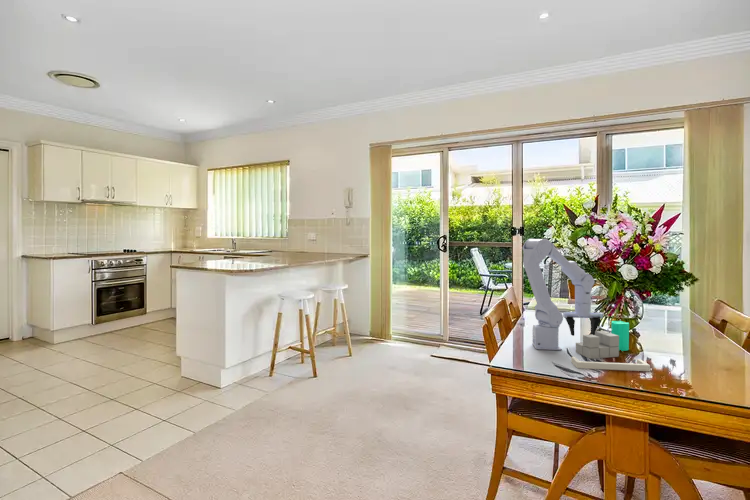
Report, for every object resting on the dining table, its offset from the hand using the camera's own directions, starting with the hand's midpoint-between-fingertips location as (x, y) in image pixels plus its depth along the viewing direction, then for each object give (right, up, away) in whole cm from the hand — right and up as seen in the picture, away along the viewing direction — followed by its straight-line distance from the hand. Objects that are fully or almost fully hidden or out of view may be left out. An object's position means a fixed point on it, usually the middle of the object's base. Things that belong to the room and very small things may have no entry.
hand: (582, 335), depth 162 cm
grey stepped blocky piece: (-2, -5, -11) cm, 12 cm away
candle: (+12, -4, -6) cm, 14 cm away
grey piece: (-5, -5, -27) cm, 27 cm away
